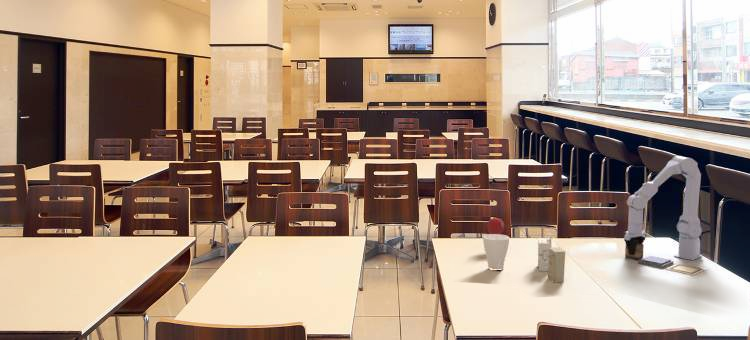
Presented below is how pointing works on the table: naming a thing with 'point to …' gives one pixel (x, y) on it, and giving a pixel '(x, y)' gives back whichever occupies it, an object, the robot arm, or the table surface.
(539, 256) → the gray blocky tower
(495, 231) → the lollipop
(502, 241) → the cup
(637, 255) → the brown rectangular block
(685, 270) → the marked card
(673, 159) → the robot arm
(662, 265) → the ink pad
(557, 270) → the skincare box
